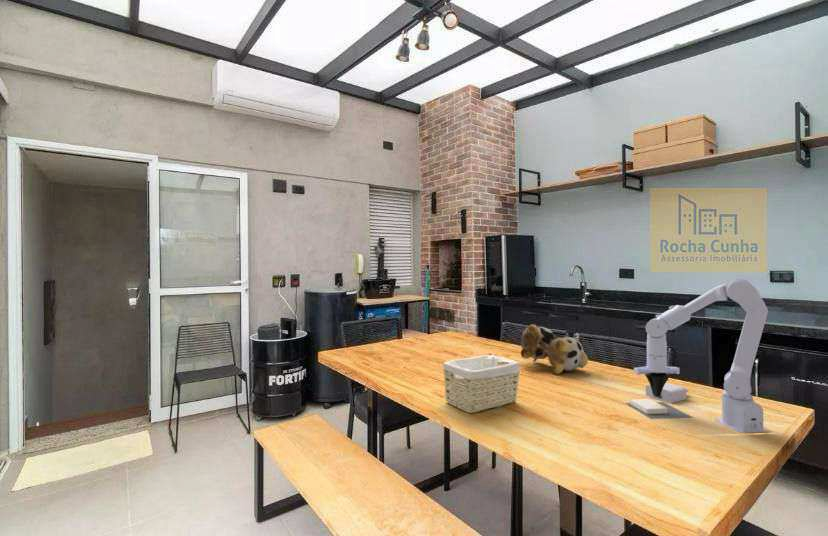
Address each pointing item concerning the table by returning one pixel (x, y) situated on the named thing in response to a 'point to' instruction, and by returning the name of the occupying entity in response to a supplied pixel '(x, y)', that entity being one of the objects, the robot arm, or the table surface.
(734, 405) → the robot arm
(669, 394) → the charger
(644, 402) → the tile
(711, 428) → the table surface
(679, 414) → the mat
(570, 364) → the toy
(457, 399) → the object
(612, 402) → the table surface
